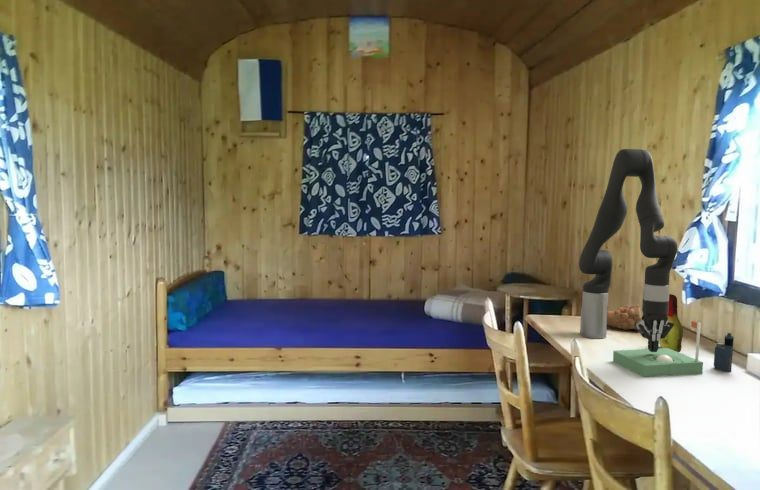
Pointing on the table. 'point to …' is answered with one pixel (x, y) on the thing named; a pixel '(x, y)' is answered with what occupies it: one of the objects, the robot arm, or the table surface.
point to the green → (649, 367)
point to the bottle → (673, 328)
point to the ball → (664, 358)
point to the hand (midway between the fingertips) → (652, 351)
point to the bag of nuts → (624, 317)
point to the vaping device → (724, 354)
